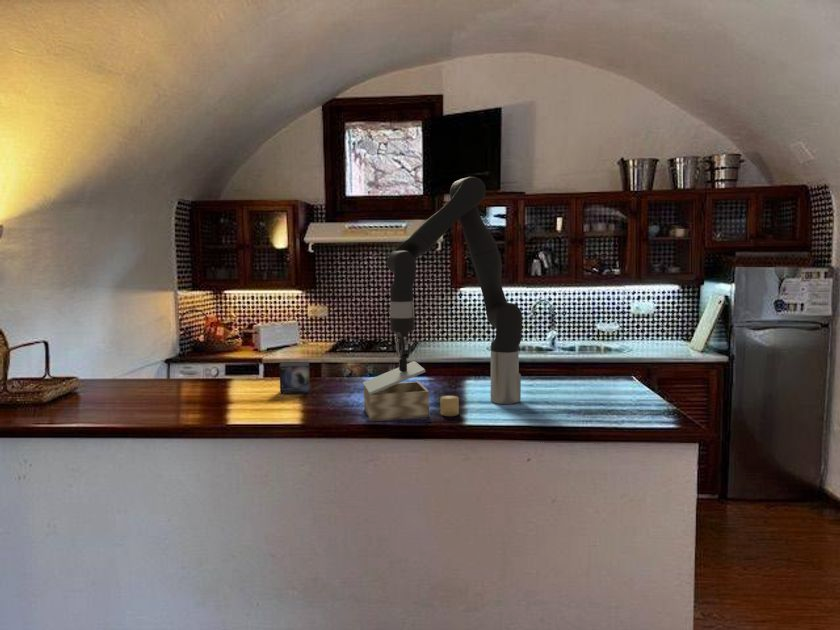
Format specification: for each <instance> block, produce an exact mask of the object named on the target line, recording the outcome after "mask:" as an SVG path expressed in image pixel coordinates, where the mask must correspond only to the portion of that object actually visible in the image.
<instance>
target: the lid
mask: <svg viewBox="0 0 840 630" xmlns="http://www.w3.org/2000/svg"><path fill="white" fill-rule="evenodd" d="M424 373H426V369H425V368H424V367H423V366H421V365H420V364H419V363H418V362H416V361H414V360H413V361H410V362H409V363H408V362H407V371H405V372H401V371H400V370H399V366H398V367H396V368H394V369H392V370H389V371H387V372H384V373H382V374H378V375H376V376H375V377H371V378H370V379H368V380H365V381H363V382H362V384H363V387H364V386H365V387H366V389H367V391H368V392H369V394H370V395H372V394H374V393H376V392H379V391H381V390H384V389H386V388H388V387H391V386H393V385H395V384H398V383H404V382H405V381H407V380H410V379H412V378H414V377H417V376H419V375H422V374H424Z"/></svg>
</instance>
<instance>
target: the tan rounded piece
mask: <svg viewBox="0 0 840 630" xmlns="http://www.w3.org/2000/svg"><path fill="white" fill-rule="evenodd" d="M459 399H460V398H459V397H458V396H457V395H442V396H440V415H441V416H445V417H455V416H458V415H459V410H460V408H459V404H460V403H459V401H460V400H459Z"/></svg>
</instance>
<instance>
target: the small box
mask: <svg viewBox="0 0 840 630" xmlns="http://www.w3.org/2000/svg"><path fill="white" fill-rule="evenodd" d="M310 377H311V376H310V362H309V361H303V362H299V361H298V362H296V361H295V362H279V390H280V391H279V392H280V395H281V394H283V395H301V394H303V395H305V393H306V394H310V393H311V391H310V390H311V386H310V385H311V384H310V382H311V381H310V379H311V378H310Z"/></svg>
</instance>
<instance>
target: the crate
mask: <svg viewBox="0 0 840 630" xmlns="http://www.w3.org/2000/svg"><path fill="white" fill-rule="evenodd" d="M363 401H364V402H363V407H364V412H365V413H366V415H367V417H368V419H369V421H370V422H381V421H395V420H396V421H398V420H406V419H407V420H408V419H419V418H420V419H421V418H422V419H423V418H429V417H430V390H429V389H428V388H426V387H425V386H424V385H423V384H422V383H421V382H419V381H408V382H405V381H403V382H400V383H398V384H395V385H393V386H391V387H388V388H386V389H384V390H381V391H379V392H376V393H374V394H372V395H370V394H369V392H368V391H367V389H366V387H365V386H364V385H363Z"/></svg>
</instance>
